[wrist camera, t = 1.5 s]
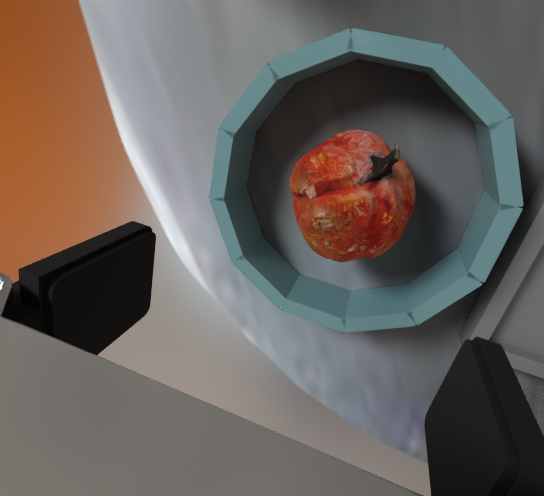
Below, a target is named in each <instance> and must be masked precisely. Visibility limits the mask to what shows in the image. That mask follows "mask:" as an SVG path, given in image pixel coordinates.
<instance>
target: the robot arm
mask: <svg viewBox="0 0 544 496" xmlns="http://www.w3.org/2000/svg"><path fill="white" fill-rule="evenodd" d="M155 242H156V235H155V233H153V232H152V229H151V227H149V226H146V225H143V224H140V223H137V222H134V221H132V222H129V223H126V224H124V225H122V226H119V227H117V228H115V229H112V230H110V231H108V232H105V233H103V234H100V235H98V236H96V237H93V238H91V239H89V240H86V241H84V242H82V243H79V244H77V245H75V246H72V247H70V248H68V249H65V250H63V251H61V252H58V253H56V254H53V255H51V256H49V257H47V258H44V259H42V260H40V261H37V262H35V263H32V264H30V265H28V266H25V267H23V268H21V269H19V281H17V282H15V283H12V280H11V278H10V277H9V276H7V275H5V274H3V273H0V496H423V495H420V494H418V493H416V492H414V491H411V490H409V489H407V488H404V487H402V486H400V485H397V484H395V483H393V482H391V481H388V480H386V479H383V478H381V477H379V476H377V475H374V474H372V473H370V472H367V471H365V470H363V469H361V468H358V467H356V466H354V465H351V464H349V463H347V462H345V461H342V460H340V459H337V458H335V457H333V456H331V455H328V454H326V453H324V452H321V451H319V450H317V449H315V448H312V447H310V446H308V445H305V444H303V443H301V442H298V441H296V440H294V439H291V438H289V437H286V436H284V435H282V434H280V433H277V432H275V431H272V430H270V429H268V428H265V427H263V426H261V425H258V424H256V423H253V422H251V421H249V420H247V419H244V418H242V417H240V416H237V415H235V414H233V413H230V412H228V411H226V410H223V409H221V408H219V407H216V406H214V405H212V404H209V403H207V402H204V401H202V400H200V399H198V398H195V397H193V396H191V395H188V394H186V393H184V392H181V391H179V390H177V389H174V388H172V387H170V386H167V385H165V384H163V383H160V382H158V381H156V380H153V379H151V378H149V377H146V376H144V375H142V374H139V373H137V372H134V371H132V370H130V369H128V368H125V367H123V366H120V365H118V364H116V363H114V362H111V361H109V360H106V359H104V358H102V357H99V356H97V355H98V354H99V353H100V352H101V351H103V350H104V349H105V348H106V347H107V346H109V345H110V344H111V343H112V342H114V340H116V339H117V338H118V337H120V336H121V335H122V334H123V333H124V332H126V331H127V330H128V329H129V328H130V327H132V326H133V325H134V324H135V323H136V322H137V321H139V320H140V319H141V318H142V317H144V316H145V315H146V313H147V312H148V310H149V307H150V301H151V289H152V276H153V266H154V254H155ZM425 435H426V445H427V456H428V466H429V476H430V487H431V496H544V437H543V434H542V432H541V430H540V428H539V426H538V423H537V421H536V419H535V417H534V415H533V412H532V410H531V408H530V406H529V404H528V401H527V399H526V397H525V395H524V393H523V390H522V388H521V386H520V384H519V382H518V379H517V377H516V375H515V373H514V371H513V369H512V366H511V364H510V362H509V360H508V358H507V355H506V353H505V351H504V349H503V347H502V345H501V344H498V343H495V342H492V341H489V340H486V339H483V338H480V337H475V338H474V339H473V340H469V339H466V340H465V341H464V343H463V344H462V346H461V348H460V350H459V352H458V354H457V356H456V358H455V360H454V362H453V363H452V365H451V367H450V369H449V371H448V373H447V375H446V377H445V379H444V381H443V383H442V384H441V386H440V388H439V390H438V392H437V394H436V396H435V398H434V400H433V402H432V404H431V405H430V407H429V409H428V411H427V414H426V417H425Z"/></svg>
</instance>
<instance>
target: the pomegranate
mask: <svg viewBox="0 0 544 496" xmlns="http://www.w3.org/2000/svg"><path fill="white" fill-rule="evenodd" d="M290 191H291V194H292V198H293V205H294V211H295V216H296V220H297V223H298V225H299V228H300V230H301V232H302V234H303V236H304V239H305V240H306V242H307V243H308V245H309V246H310V248H311V249H312V250H313V251H315V252H316V253H317V254H319V255H321V256H323V257H325V258H327V259H332V260H334V261H338V262H347V261H351V260H357V259H359V258H362V257H365V258H375V257H378V256H380V255H381V254H383V253H384V252H386V251H387V250H388V249H389V248H391V247H392V246H393V245H394V244H395V243H396V242H397V241H398V240H399V238H400V237H401V235H402V233H403V232H404V229H405V227H406V224H407V221H408V219H410V217H411V215H412V213H413V209H414V204H415V179H414V177H413V175H412V173H411V170H410V168H409V166H408V164H407V163H406V161H405V160H404V159H403V158H400V150H399V146H398V142H396V145H395V148H394V150H393V151H391V150H390V148H389V146H388V145H387V144H386V142H385V141H384V140H383V139H382V137H381V136H380V135H379V134H374V133H372V132H369V131H363V130H346V131H344V132H342V133H338V134H335V135H333V136H332V137H330V138H329V139H328V140H326V141H325V142H323V143H322V144H320V145H319V146H317V147H315V148H314V149H313V150H311V151H309V152H308V153H307V154H305V155H304V156H302V157H301V158H300V159H299V160H298V161H297V163H296V165H295V166H294V168H293V173H292V175H291V178H290Z"/></svg>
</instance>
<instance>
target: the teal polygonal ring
mask: <svg viewBox="0 0 544 496" xmlns="http://www.w3.org/2000/svg"><path fill="white" fill-rule="evenodd" d="M443 48H444V45H441V44H436V43H431V42H425V41H420V40H415V39H410V38H404V37H399V36H394V35H388V34H383V33H378V32H373V31H367V30H362V29H357V28H352V31H351V30H350V28H348V29H346V30H343V31H341V32H338V33H336V34H334V35H331V36H329V37H326V38H324V39H322V40H319V41H317V42H314V43H312V44H309V45H307V46H305V47H302V48H300V49H297V50H295V51H293V52H290V53H288V54H285V55H283V56H280V57H278V58H276V59H273V60H271V61H269V64H267V63H266V64H265V66H264V67H263V68H262V70H261V71H260V72H259V74H258V75H257V76H256V78H255V79H254V80H253V82H252V83H251V84H250V86H249V87H248V88H247V90H246V91H245V92H244V94H243V95H242V96H241V98H240V99H239V101H238V102H237V103H236V105H235V106H234V107H233V109H232V110H231V111H230V113H229V114H228V115H227V117H226V118H225V119H224V121H223V122H222V123H221V125H220V127H221V128H219V129H218V137H217V144H216V152H215V159H214V167H213V174H212V181H211V189H210V196H209V198H212V199H211V200H210V203H211V206H212V208H213V211H214V214H215V217H216V220H217V222H218V225H219V228H220V231H221V234H222V236H223V239H224V242H225V245H226V248H227V250H228V253H229V256H230V259H231V262H233V261H235V262H234V263H233V264H234V265H235V266H236V267H237V268H238V269H239V270H240V271H241V272H242V273H243V274H244V275H245V276H246V277H247V278H248V279H249V280H250V281H251V282H252V283H253V284H254V285H255V286H256V287H257V288H258V289H259V290H260V291H261V292H262V293H263V294H264V295H265V296H266V297H267V298H268V299H269V300H270V301H271V302H272V303H273V304H274V305H275V306H276V307H277V308H278V309H279V308H280V307H281V309H280V310H282V311H284V312H287V313H290V314H293V315H295V316H298V317H301V318H304V319H307V320H309V321H312V322H315V323H318V324H321V325H323V326H326V327H329V328H332V329H334V330H337V331H340V332H343V330H344V331H345V333H348V332H359V331H370V330H380V329H391V328H402V327H412V326H415V323H416V324H417V325H419V324H421V323H422V322H424V321H426V320H427V319H429V318H430V317H432V316H434V315H435V314H437V313H438V312H440V311H442V310H443V309H445V308H446V307H448V306H449V305H451V304H453V303H454V302H456V301H457V300H459V299H461V298H462V297H464V296H465V295H467V294H468V293H470V292H472V291H473V290H475V289H476V288H478V287H480V286H481V285H483V284H482V282H484V283H485V281H486V279H487V277H488V275H489V273H490V271H491V269H492V267H493V265H494V264H495V262H496V260H497V258H498V256H499V254H500V252H501V250H502V248H503V246H504V244H505V242H506V241H507V239H508V237H509V235H510V233H511V231H512V229H513V227H514V225H515V223H516V221H517V219H518V217H519V216H520V214H521V212H522V210H523V208H522V207H520V206H524V205H523V197H522V188H521V180H520V172H519V163H518V155H517V146H516V138H515V130H514V121H513V117H509V116H511V115H512V114H511V113H510V112H509V111H508V110H507V109H506V108H505V107H504V106H503V105H502V104H501V103H500V102H499V101H498V100H497V99H496V97H495V96H494V95H493V94H492V93H491V92H490V91H489V90H488V89H487V88H486V87H485V86H484V85H483V84H482V83H481V82H480V81H479V80H478V79H477V77H476V76H475V75H474V74H473V73H472V72H471V71H470V70H469V69H468V68H467V67H466V66H465V65H464V64H463V63H462V62H461V61H460V60H459V59H458V57H457V56H456V55H455V54H454V53H453V52H452V51H451V50H450V49H449V48H448V47H446V48H445V49H444V50H443ZM442 50H443V51H442ZM357 59H360V60H365V61H370V62H375V63H380V64H385V65H390V66H394V67H399V68H404V69H409V70H414V71H419V72H423V73H427V74H428V75H429V76H430V77H431V78H432V79H433V80H434V81H435V83H436V84H437V85H438V86H439V87H440V88H441V89H442V90H443V91H444V92H445V93H446V94H447V95H448V96H449V97H450V98H451V99H452V100H453V101H454V102H455V103H456V104H457V106H458V107H459V108H460V109H461V110H462V111H463V112H464V113H465V114H466V115H467V116H468V117H469V118H470V119H471V120H472V121H473V122H474V123H475V130H476V137H477V143H478V150H479V157H480V164H481V170H482V177H483V184H484V192H483V194H482V196H481V198H480V201H479V203H478V205H477V207H476V209H475V211H474V214H473V216H472V218H471V220H470V222H469V224H468V226H467V229H466V231H465V233H464V235H463V237H462V239H461V242H460V244H459V246H458V248H457V249H456V250H454V251H453V252H452V253H450V254H449V255H447V256H446V257H445V258H443V259H442V260H440V261H439V262H437V263H436V264H435V265H433V266H432V267H430V268H429V269H428V270H426V271H425V272H423V273H422V274H420V275H419V276H418V277H416V278H415V279H413V280H412V281H411V282H409V283H408V284H401V285H393V286H386V287H379V288H371V289H364V290H357V291H349V290H346V289H343V288H340V287H337V286H334V285H331V284H328V283H325V282H322V281H319V280H316V279H313V278H310V277H307V276H304V275H301V274H300V273H299V272H298V271H297V270H296V269H295V268H294V267H293V266H292V265H291V264H290V263H289V262H287V261H286V260H285V259H284V258H283V257H282V256H281V255H280V254H279V253H278V252H277V251H276V250H275V249H274V248H273V247H272V246H271V245H270V244H269V243H268V242H267V241H266V240H265V239H264V238H263V235H262V232H261V229H260V226H259V223H258V220H257V217H256V214H255V211H254V208H253V205H252V202H251V198H250V195H249V192H248V189H247V181H248V176H249V170H250V164H251V159H252V153H253V147H254V142H255V136H256V131H257V129H258V128H259V127H260V126H261V124H262V123H263V122H264V121H265V120H266V118H267V117H268V116H269V115H270V113H271V112H272V111H273V110H274V108H275V107H276V106H277V105H278V104H279V102H280V101H281V100H282V99H283V97H284V96H285V95H286V94H287V92H288V91H289V90H290V89H291V88H292V86H293V85H294V84H295V83H296V82H299V81H301V80H304V79H306V78H309V77H312V76H314V75H317V74H320V73H322V72H325V71H328V70H330V69H333V68H336V67H338V66H341V65H344V64H346V63H349V62H352V61H354V60H357Z"/></svg>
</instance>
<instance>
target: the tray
mask: <svg viewBox="0 0 544 496" xmlns="http://www.w3.org/2000/svg"><path fill="white" fill-rule="evenodd" d="M459 336H460V339H461V343H462V344H463V343H464V341H465V340H466V339H469V340H473V339H474V338H475V337H480V338H483V339H486V340H489V341H492V342H495V343H498V344H501V345H502V347H503V349H504V351H505V353H506V355H507V358H508V360H509V362H510V364H511V366H512V368H514V369H517V370H520V371H523V372H526V373H529V374H531V375H534V376H537V377H540V378H543V379H544V173H543V174H542V176H541V178H540V180H539V182H538V184H537V186H536V188H535V190H534V192H533V194H532V196H531V197H530V199H529V201H528V203H527V205H526V207H525V209H524V211H523V213H522V215H521V217H520V218H519V220H518V222H517V224H516V226H515V228H514V230H513V232H512V234H511V236H510V238H509V239H508V241H507V243H506V245H505V247H504V249H503V251H502V253H501V255H500V257H499V259H498V261H497V262H496V264H495V266H494V268H493V270H492V272H491V274H490V276H489V278H488V280H487V282H486V283H485V285H484V287H483V289H482V291H481V293H480V295H479V297H478V299H477V301H476V303H475V304H474V306H473V308H472V310H471V312H470V314H469V316H468V318H467V320H466V322H465V324H464V326H463V327H462V329H461V331H460V333H459Z"/></svg>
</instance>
